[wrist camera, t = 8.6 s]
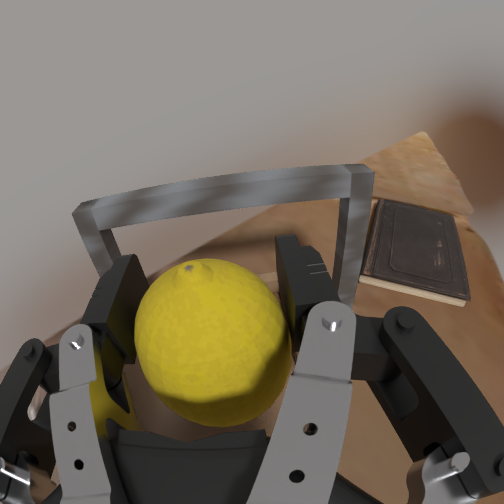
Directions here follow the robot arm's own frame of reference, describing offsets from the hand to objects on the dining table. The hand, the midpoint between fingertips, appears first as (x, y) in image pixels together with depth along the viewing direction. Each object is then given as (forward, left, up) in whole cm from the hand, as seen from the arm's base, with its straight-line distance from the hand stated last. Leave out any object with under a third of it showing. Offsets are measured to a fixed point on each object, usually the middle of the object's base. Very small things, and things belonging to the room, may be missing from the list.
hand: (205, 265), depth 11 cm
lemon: (0, -3, -6) cm, 7 cm away
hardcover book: (+28, +21, -19) cm, 40 cm away
